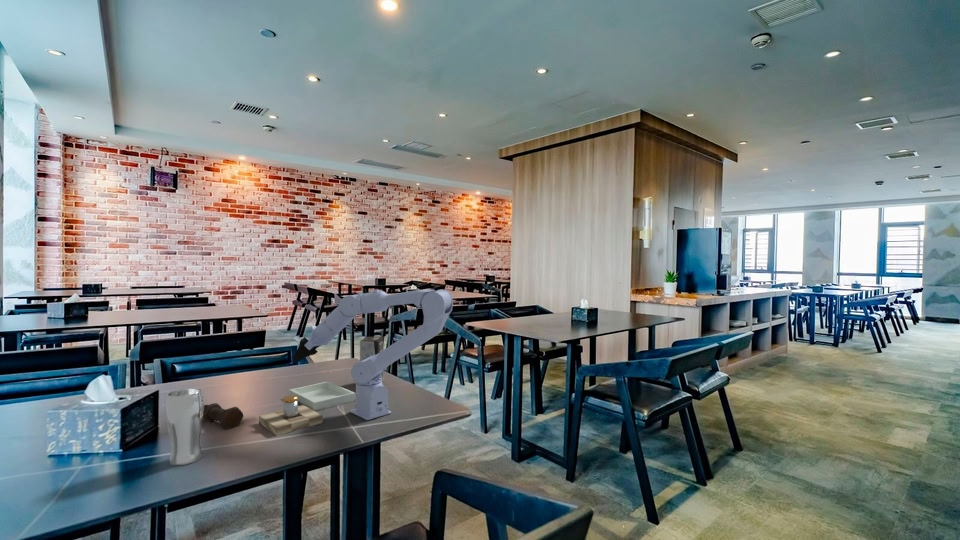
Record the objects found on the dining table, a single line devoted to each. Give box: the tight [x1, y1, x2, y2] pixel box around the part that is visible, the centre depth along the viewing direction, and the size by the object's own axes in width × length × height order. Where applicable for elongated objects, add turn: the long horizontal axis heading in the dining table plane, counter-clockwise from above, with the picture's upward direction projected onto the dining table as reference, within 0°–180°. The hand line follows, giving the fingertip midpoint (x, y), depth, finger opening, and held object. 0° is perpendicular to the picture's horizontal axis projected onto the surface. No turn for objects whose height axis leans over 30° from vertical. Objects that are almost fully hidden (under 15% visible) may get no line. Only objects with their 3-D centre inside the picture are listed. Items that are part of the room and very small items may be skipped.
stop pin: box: [282, 394, 299, 420], centre depth 118 cm, size 4×4×7 cm
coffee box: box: [359, 336, 385, 383], centre depth 154 cm, size 9×6×16 cm
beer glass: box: [165, 387, 205, 467], centre depth 97 cm, size 7×7×15 cm
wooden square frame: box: [258, 404, 324, 436], centre depth 118 cm, size 12×12×2 cm
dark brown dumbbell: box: [203, 402, 244, 430], centre depth 119 cm, size 6×5×15 cm
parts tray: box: [288, 381, 356, 412], centre depth 138 cm, size 18×13×2 cm
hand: (301, 354), depth 130 cm, fingers open, 7 cm apart
